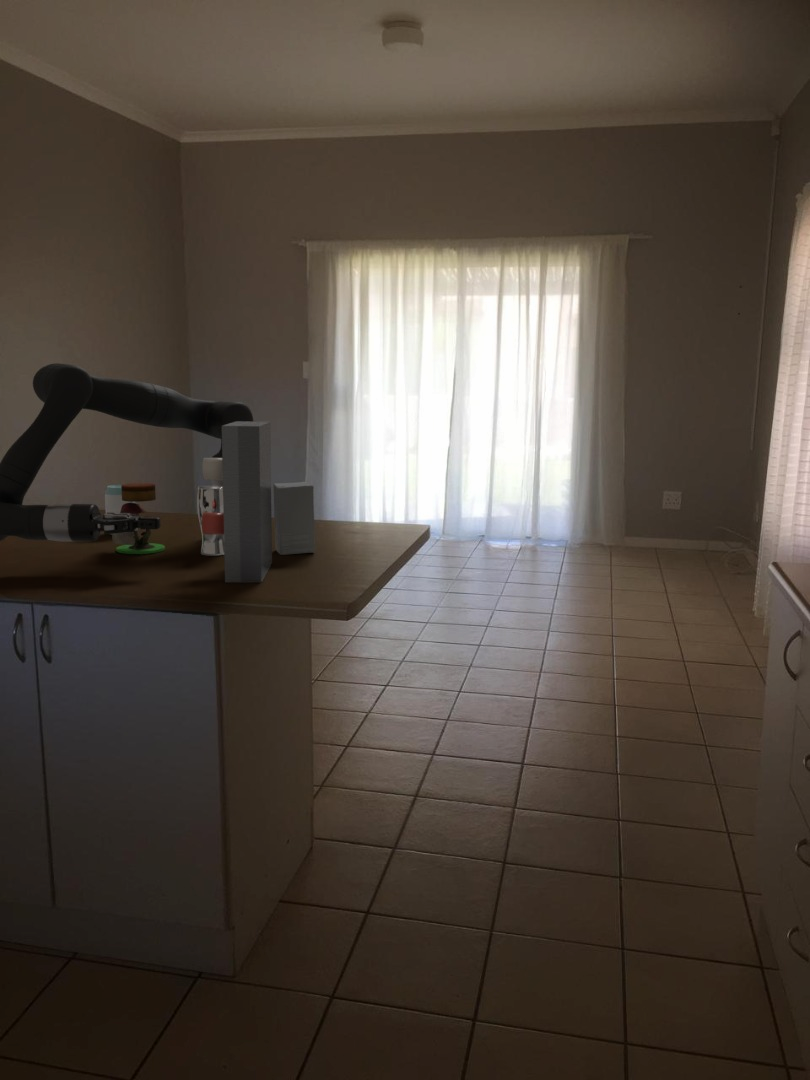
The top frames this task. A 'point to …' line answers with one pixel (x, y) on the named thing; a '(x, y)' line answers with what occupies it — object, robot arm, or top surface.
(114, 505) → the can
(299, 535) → the skincare box
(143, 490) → the mushroom figurine
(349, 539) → the top surface
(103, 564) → the top surface
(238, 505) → the tall grey block
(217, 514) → the red button
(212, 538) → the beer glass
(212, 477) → the white cylinder
